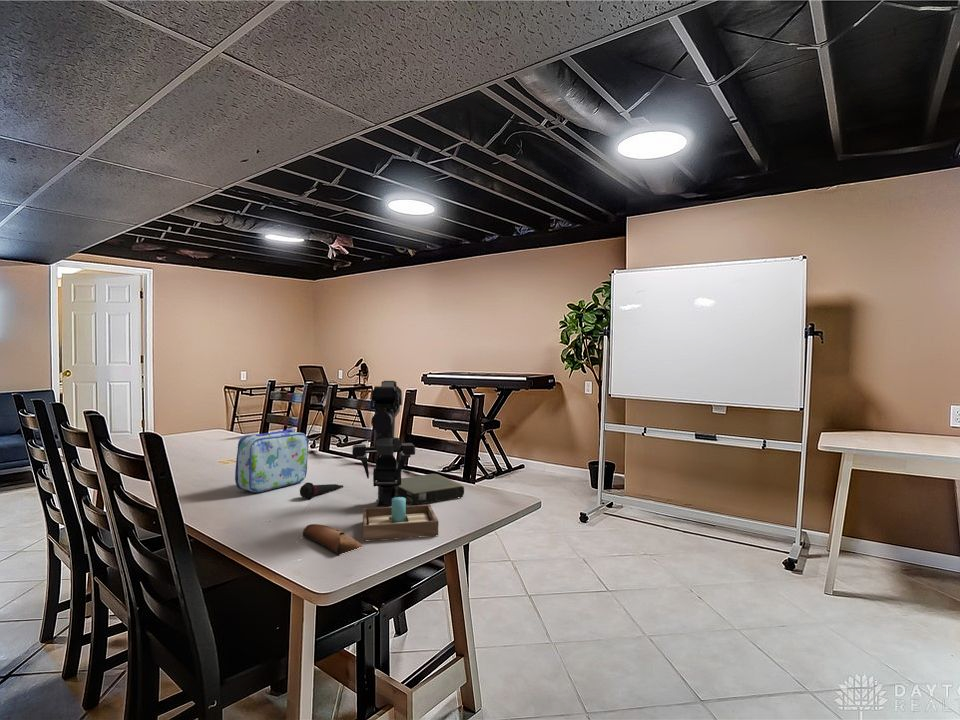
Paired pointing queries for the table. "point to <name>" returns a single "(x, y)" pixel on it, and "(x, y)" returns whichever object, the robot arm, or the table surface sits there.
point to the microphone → (316, 489)
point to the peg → (398, 509)
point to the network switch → (428, 489)
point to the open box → (415, 525)
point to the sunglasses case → (331, 538)
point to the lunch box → (271, 460)
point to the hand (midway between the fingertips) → (383, 477)
